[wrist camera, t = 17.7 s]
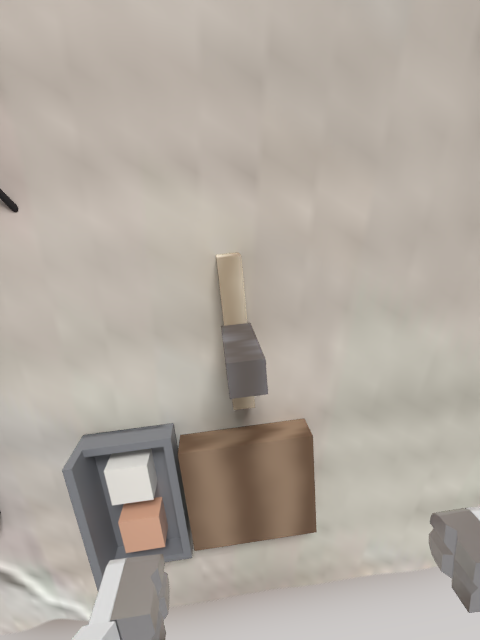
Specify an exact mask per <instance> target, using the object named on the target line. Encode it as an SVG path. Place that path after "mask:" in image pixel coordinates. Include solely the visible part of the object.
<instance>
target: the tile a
mask: <svg viewBox="0 0 480 640" xmlns="http://www.w3.org/2000/svg"><path fill="white" fill-rule="evenodd" d="M104 474H105V478H106V482H107V486H108V490H109V494H110V498H111V503H112V505H119V504H126V503H133V502H140V501H147V500H154V496H155V491H156V486H157V476H156V471H155V466H154V460H153V455H152V450H151V449H144V450H137V451H129V452H122V453H114V454H111V456H110V458H109V460H108V463H107V465H106V467H105V470H104Z"/></svg>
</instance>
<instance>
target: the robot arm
mask: <svg viewBox="0 0 480 640" xmlns="http://www.w3.org/2000/svg"><path fill="white" fill-rule="evenodd" d="M430 524H431V525H432V526H433V528H434V529H433V530H432V531H431V533H430V534H429V546H430V550H431V554H432V556H433V558H434V560H435V562H436V564H437V565H438V567H439V568H440V570H441V571H442V572H443V573H445V574H446V575H448V576H449V577H451V578H452V588H453V590H454V591H455V593H456V594H457V596H458V597H459V599H460V600H461V602H462V603H463V605H464V606H465V608H466V609H467V611H468V612H469V613H472V612H480V506H477V507H470V508H465V509H464V508H461V509H455V510H449V511H442V512H436V513H433V514H432V515H431V518H430ZM164 566H165V561H164V557H163V554H156V555H148V556H139V557H131V558H123V559H116V560H110V561H109V563H108V564H107V566H106V568H105V572H104V575H103V578H102V581H101V584H100V588H99V591H98V594H97V597H96V601H95V604H94V607H93V610H92V613H91V617H90V620H89V623H88V625H86V626H82V627H81V628H80V630H79V631H78V632H77V633H76V634H75V636H74V637H73V638H72V639H71V640H165V636H166V631H165V626H164V622H163V621H164V619H165V618H166V616H167V615H168V610H169V579H168V574H167V573H166V572H164Z"/></svg>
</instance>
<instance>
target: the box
mask: <svg viewBox="0 0 480 640" xmlns="http://www.w3.org/2000/svg"><path fill="white" fill-rule="evenodd" d="M144 449H151V450H152V455H153V460H154V466H155V471H156V476H157V486H156V491H155V496H154V498H157V497H162V499H163V504H164V508H165V513H166V518H167V523H168V530H167V538H166V545H165V547H162V548H155V549H149V550H143V551H136V552H130V553H126V551H125V547H124V543H123V539H122V536H121V532H120V528H119V524H118V521H119V518H120V515H121V511H122V508H123V505H124V504H119V505H112V503H111V498H110V494H109V490H108V486H107V482H106V478H105V474H104V470H105V467H106V465H107V463H108V460H109V458H110V456H111V454H114V453H122V452H129V451H137V450H144ZM62 472H63V475H64V479H65V482H66V486H67V489H68V492H69V496H70V499H71V502H72V506H73V509H74V513H75V516H76V519H77V523H78V526H79V529H80V533H81V536H82V539H83V543H84V546H85V550H86V553H87V556H88V560H89V563H90V566H91V570H92V573H93V576H94V580H95V583H96V587H97V590H98V591H99V588H100V584H101V581H102V578H103V575H104V572H105V568H106V566H107V564H108V563H109V561H110V560H116V559H123V558H131V557H139V556H148V555H156V554H163V557H164V561H165V562H169V561H175V560H182V559H188V558H192V550H193V538H192V533H191V527H190V521H189V516H188V510H187V504H186V499H185V493H184V487H183V481H182V476H181V470H180V464H179V459H178V447H177V441H176V436H175V430H174V424H173V423H171V424H164V425H156V426H148V427H141V428H133V429H126V430H118V431H111V432H103V433H95V434H88V435H83V436H82V438H81V439H80V441H79V443H78V444H77V446H76V448H75V449H74V451H73V453H72V455H71V456H70V458H69V460H68V461H67V463H66V465H65V466H64V468H63V470H62Z"/></svg>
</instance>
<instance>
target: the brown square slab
mask: <svg viewBox="0 0 480 640" xmlns="http://www.w3.org/2000/svg"><path fill="white" fill-rule="evenodd" d="M178 459H179V464H180V470H181V476H182V481H183V487H184V493H185V499H186V504H187V510H188V516H189V521H190V527H191V533H192V538H193V544H194V550H195V551H197V550H204V549H210V548H217V547H223V546H230V545H236V544H243V543H249V542H256V541H262V540H269V539H275V538H281V537H288V536H294V535H301V534H307V533H314V532H316V508H315V481H314V455H313V435H312V433H311V431H310V429H309V427H308V425H307V423H306V421H305V419H297V420H290V421H282V422H275V423H267V424H260V425H252V426H245V427H238V428H230V429H223V430H215V431H208V432H200V433H193V434H186V435H180V442H179V449H178Z"/></svg>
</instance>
